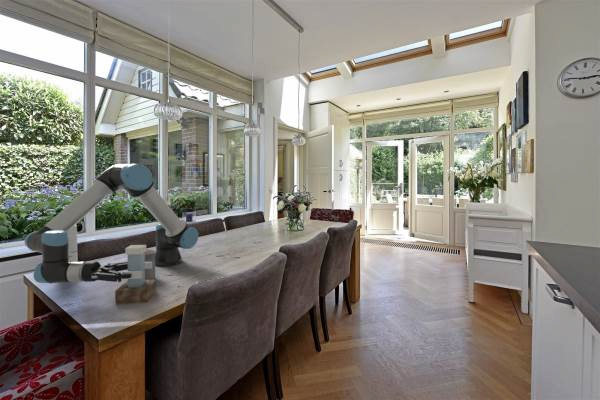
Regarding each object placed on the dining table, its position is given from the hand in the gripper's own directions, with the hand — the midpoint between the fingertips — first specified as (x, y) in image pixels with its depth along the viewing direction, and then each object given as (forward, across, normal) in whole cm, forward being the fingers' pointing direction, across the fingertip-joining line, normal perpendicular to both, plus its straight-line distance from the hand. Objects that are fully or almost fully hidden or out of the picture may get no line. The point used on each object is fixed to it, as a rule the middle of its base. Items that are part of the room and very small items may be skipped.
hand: (147, 269), depth 113 cm
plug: (-4, 0, -11) cm, 12 cm away
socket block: (-4, 0, -12) cm, 13 cm away
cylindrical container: (-44, -31, -12) cm, 55 cm away
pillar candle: (-8, -22, -12) cm, 27 cm away
